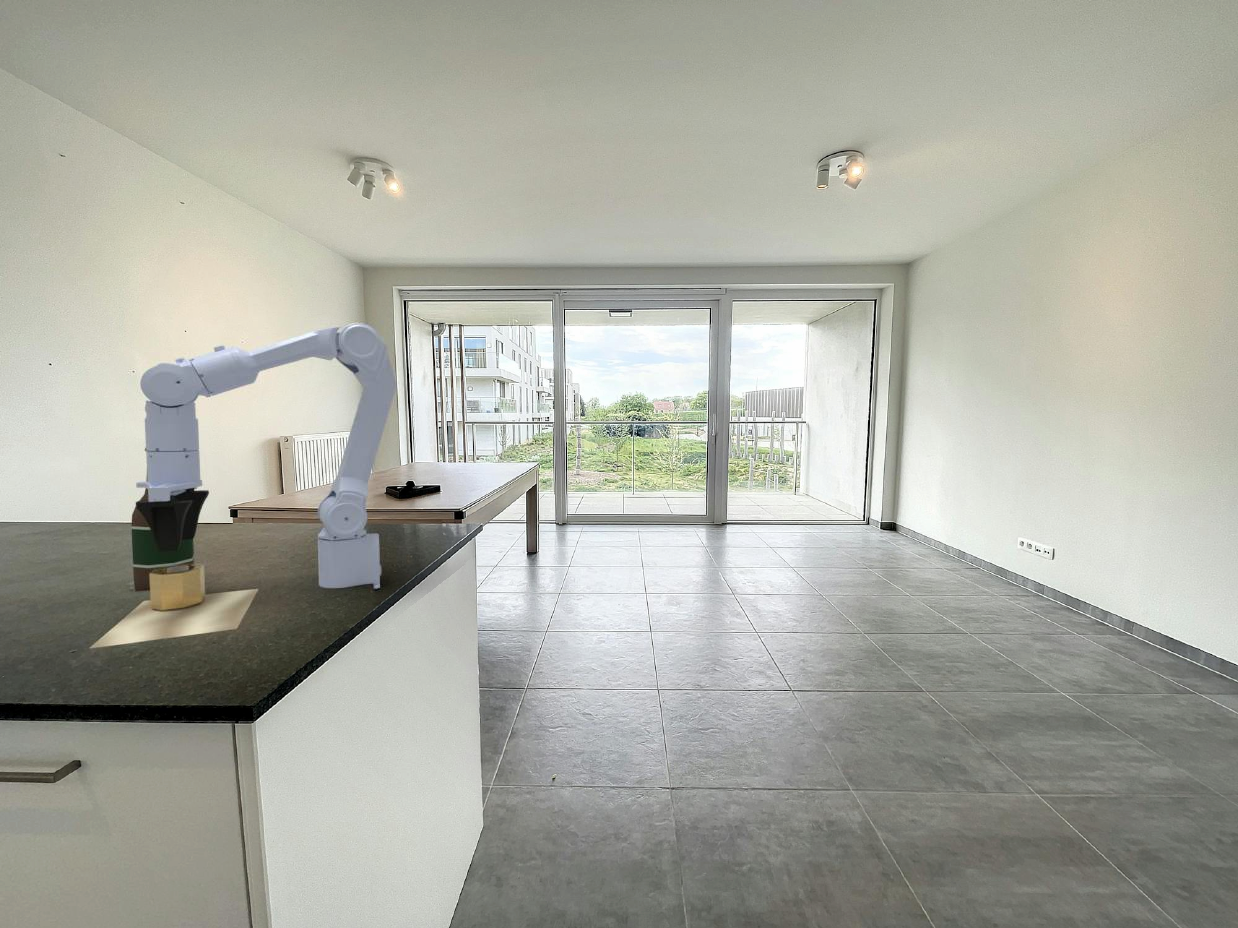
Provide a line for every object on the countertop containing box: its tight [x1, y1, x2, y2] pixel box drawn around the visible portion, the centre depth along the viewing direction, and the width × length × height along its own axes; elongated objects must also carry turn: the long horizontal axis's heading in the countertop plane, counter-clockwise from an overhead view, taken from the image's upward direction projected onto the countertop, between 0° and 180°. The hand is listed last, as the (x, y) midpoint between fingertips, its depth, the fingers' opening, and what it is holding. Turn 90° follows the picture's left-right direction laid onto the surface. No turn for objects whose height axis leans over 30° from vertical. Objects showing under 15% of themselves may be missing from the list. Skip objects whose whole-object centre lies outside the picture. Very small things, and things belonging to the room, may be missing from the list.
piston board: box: [88, 565, 260, 650], centre depth 70 cm, size 14×18×6 cm
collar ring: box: [149, 562, 206, 610], centre depth 74 cm, size 6×6×5 cm
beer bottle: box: [130, 447, 195, 592], centre depth 83 cm, size 8×8×24 cm
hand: (177, 544), depth 73 cm, fingers open, 7 cm apart
